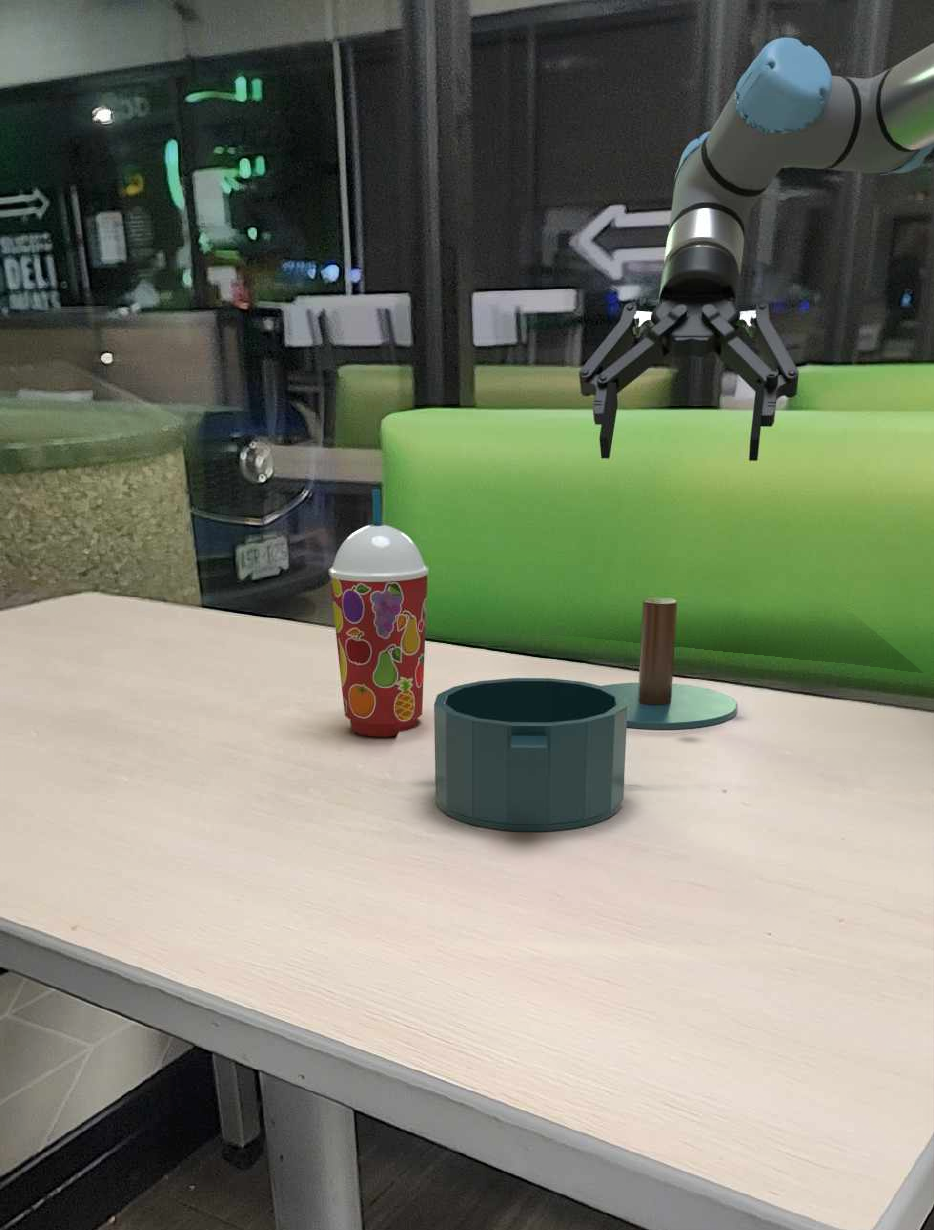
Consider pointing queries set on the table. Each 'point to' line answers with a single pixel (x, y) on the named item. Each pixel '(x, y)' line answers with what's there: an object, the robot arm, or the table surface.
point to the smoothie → (380, 627)
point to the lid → (667, 680)
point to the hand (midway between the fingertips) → (678, 449)
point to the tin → (530, 753)
